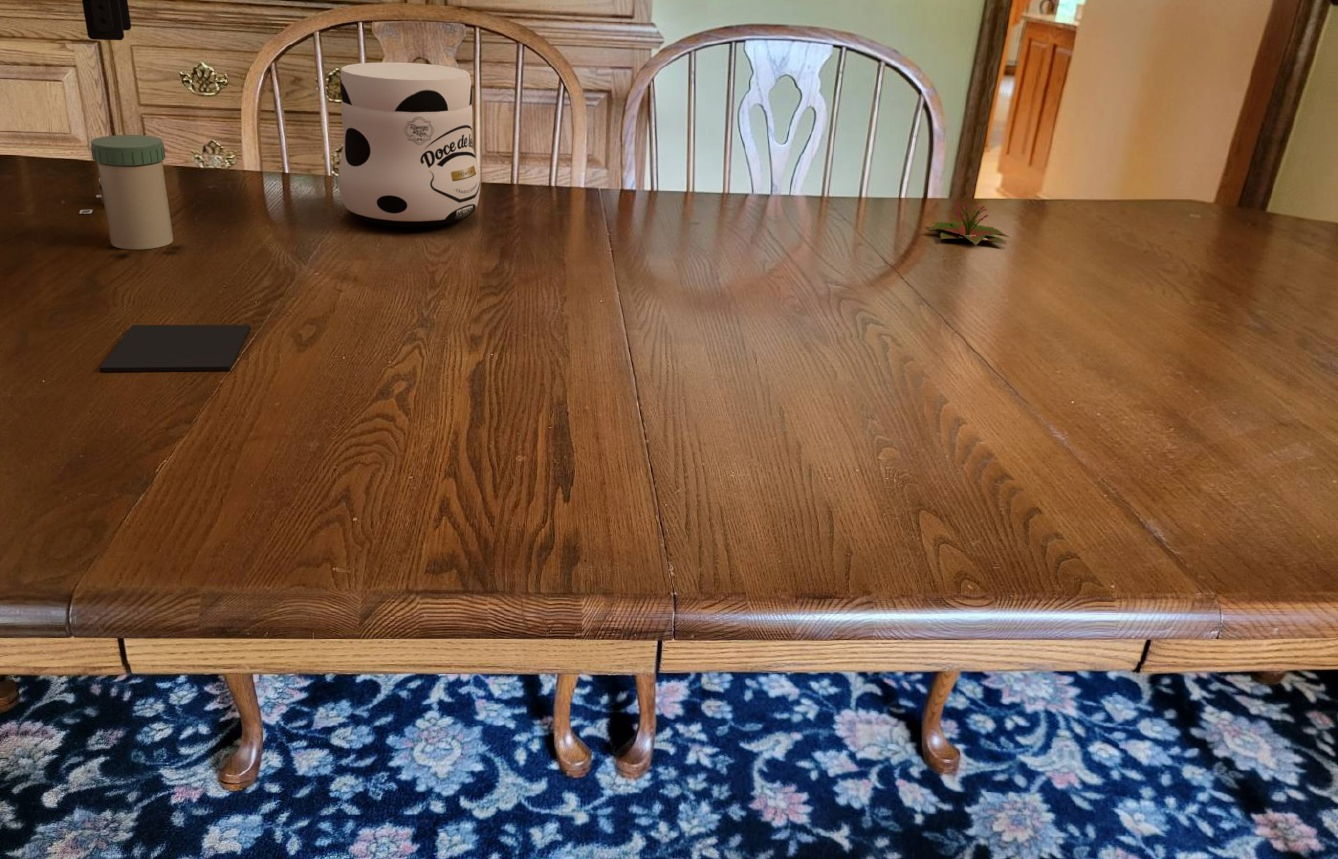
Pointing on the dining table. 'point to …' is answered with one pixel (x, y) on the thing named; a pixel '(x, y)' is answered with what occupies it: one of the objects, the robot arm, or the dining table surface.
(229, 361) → the coaster
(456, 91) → the milk container
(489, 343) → the dining table surface
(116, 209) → the honey jar
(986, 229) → the lily flower
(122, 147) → the honey lid
